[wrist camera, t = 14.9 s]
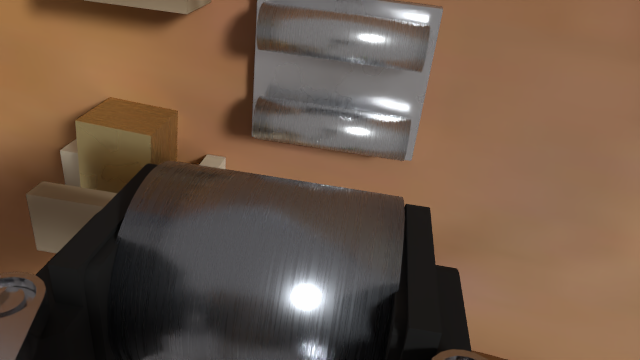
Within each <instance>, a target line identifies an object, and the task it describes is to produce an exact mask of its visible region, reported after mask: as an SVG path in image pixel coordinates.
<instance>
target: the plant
mask: <svg viewBox="0 0 640 360" xmlns="http://www.w3.org/2000/svg"><path fill="white" fill-rule="evenodd" d="M471 352H473V353H476V354H478V355H480V356H482V357H484V358H486V359H488V360H507V359H502V358H499V357H495V356H492V355H488V354H484V353H480V352H476V351H471Z"/></svg>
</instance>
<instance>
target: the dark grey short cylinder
mask: <svg viewBox="0 0 640 360" xmlns="http://www.w3.org/2000/svg"><path fill="white" fill-rule="evenodd" d="M404 220H405V209H404V200H403V197H399V196H393V195H387V194H380V193H374V192H368V191H361V190H355V189H348V188H342V187H336V186H329V185H323V184H317V183H310V182H304V181H297V180H291V179H285V178H278V177H272V176H266V175H259V174H253V173H247V172H240V171H234V170H227V169H221V168H215V167H208V166H202V165H196V164H189V163H183V162H176V161H165V162H163V163H161V164H159V165H158V166H156V167H155V168H154V169H153V170H152V171H151V172H150V173H149V174H148V175H147V176H146V178H145V179H144V181H143V182H142V183H141V185H140V186H139V188H138V190H137V191H136V193H135V195H134V197H133V199H132V201H131V203H130V205H129V207H128V209H127V211H126V214H125V216H124V219H123V221H122V224H121V227H120V230H119V233H118V236H117V239H116V242H115V244H118V247H117V250H116V254H115V258H114V263H113V268H112V272H111V279H110V285H109V294H108V307H107V324H108V336H109V342H110V346H111V350H112V353H113V355H114V357H115V359H116V360H385V355H386V349H387V343H388V337H389V331H390V325H391V318H392V311H393V304H394V296H395V292H398V291H399V283H400V274H401V264H402V254H403V241H404Z"/></svg>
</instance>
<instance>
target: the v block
mask: <svg viewBox="0 0 640 360" xmlns="http://www.w3.org/2000/svg"><path fill="white" fill-rule="evenodd" d="M442 12H443V7H442V6H434V5H426V4H419V3H411V2H403V1H395V0H257V20H256V44H255V68H254V92H253V117H252V137H254V138H255V139H262V140H268V141H275V142H282V143H288V144H295V145H301V146H308V147H315V148H321V149H328V150H334V151H341V152H348V153H354V154H361V155H367V156H374V157H381V158H387V159H394V160H400V161H404V160H410V161H411V160H412V155H413V150H414V146H415V141H416V136H417V131H418V126H419V122H420V117H421V112H422V107H423V103H424V98H425V93H426V88H427V83H428V79H429V74H430V69H431V64H432V60H433V55H434V50H435V45H436V41H437V36H438V31H439V26H440V21H441V17H442Z"/></svg>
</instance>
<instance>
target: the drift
mask: <svg viewBox="0 0 640 360" xmlns="http://www.w3.org/2000/svg"><path fill="white" fill-rule="evenodd" d="M177 124H178V111H176V110H171V109H166V108H161V107H156V106H151V105H146V104H141V103H136V102H131V101H127V100H122V99H117V98H112V97H110V98H108V99H107V100H105V101H104V102H102V103H101V104H99V105H98V106H96V107H95V108H93V109H92V110H90V111H89V112H87V113H86V114H84V115H83V116H81V117H80V118H78V119H77V120H75V125H76V137H77V150H78V162H79V174H80V186H81V187H82V188H88V189H94V190H100V191H107V192H113V193H118V192H119V191H120V190H121V189H122V188H123V187H124V186H125V185H126V184H127V183H128V182H129V181H130V180H131V179H132V178H133V177H134V176H135V175H136V174H137V173H138V172H139V171H140V170H141V169H142V168H143V167H144V166H145V165H146V164H148V163H150V164H156V165H159V164H161V163H163V162H165V161H176V162H177Z"/></svg>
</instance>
